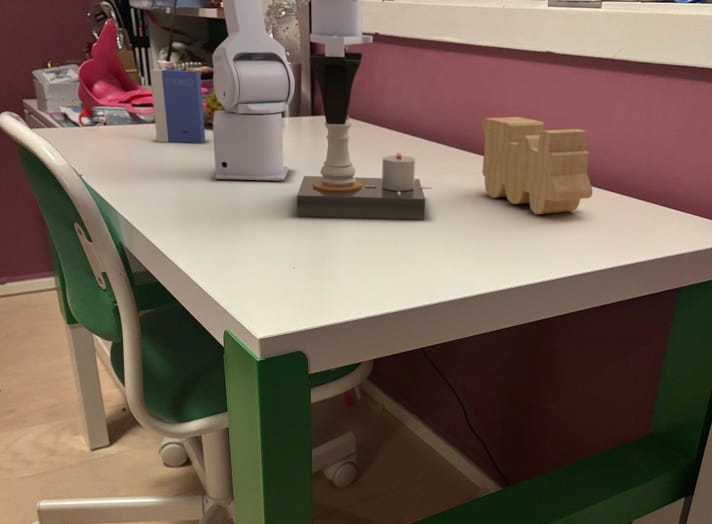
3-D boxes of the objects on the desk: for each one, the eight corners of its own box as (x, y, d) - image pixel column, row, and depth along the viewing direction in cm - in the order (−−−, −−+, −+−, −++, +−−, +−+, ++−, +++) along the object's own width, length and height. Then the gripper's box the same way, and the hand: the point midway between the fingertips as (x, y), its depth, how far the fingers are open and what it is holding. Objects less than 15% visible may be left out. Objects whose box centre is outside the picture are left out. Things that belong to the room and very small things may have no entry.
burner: (311, 190, 88) (311, 188, 88) (314, 180, 94) (314, 177, 94) (361, 192, 89) (361, 189, 88) (361, 181, 94) (361, 179, 94)
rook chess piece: (350, 188, 89) (351, 119, 85) (315, 185, 89) (314, 116, 86) (360, 181, 93) (360, 114, 89) (325, 178, 93) (325, 112, 90)
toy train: (552, 221, 89) (563, 135, 85) (476, 191, 103) (482, 116, 98) (588, 217, 91) (601, 134, 87) (509, 188, 105) (516, 115, 101)
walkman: (205, 140, 132) (200, 68, 127) (201, 143, 129) (196, 69, 124) (160, 139, 132) (153, 66, 126) (156, 141, 129) (149, 68, 124)
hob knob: (415, 191, 90) (416, 159, 88) (382, 190, 90) (382, 158, 88) (413, 184, 93) (414, 153, 92) (381, 183, 93) (382, 152, 92)
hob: (297, 216, 87) (296, 193, 86) (304, 195, 97) (303, 174, 96) (433, 220, 88) (434, 197, 87) (426, 198, 98) (427, 178, 97)
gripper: (373, -9, 76) (371, 129, 81) (372, -7, 89) (370, 112, 94) (304, -12, 75) (306, 127, 81) (313, -9, 88) (315, 110, 94)
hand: (337, 119), depth 88 cm, fingers open, 7 cm apart
